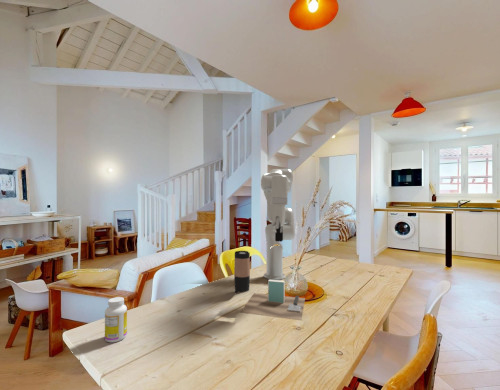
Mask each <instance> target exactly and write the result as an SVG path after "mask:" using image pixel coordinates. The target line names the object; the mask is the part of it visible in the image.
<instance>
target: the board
mask: <svg viewBox="0 0 500 390" xmlns="http://www.w3.org/2000/svg"><path fill="white" fill-rule="evenodd" d="M294 300H295V296H287V295H285V302H284V303H279V302H270V301H268V293H257V292H254V293H253V294H251V296H250V298H249V299H248V301H247V302H246V303H245V305H244V306H243V308H242V309H241V310H240V313H242V314H250V315H251V314H252V315H258V316H265V317H273V318H282V319H288V320H296V321H297V320H298V321H302V318H303V312H304V306H305V301H306V298H305V297H299V299H298V304H297V305H301V310H300V312H292V311H287V310H288V307H289V304H294Z"/></svg>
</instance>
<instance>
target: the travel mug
mask: <svg viewBox="0 0 500 390" xmlns="http://www.w3.org/2000/svg"><path fill="white" fill-rule="evenodd" d="M250 253H251V252H249V251H247V250H237V251H236V250H235V252H234V267H233V270H234V272H233V273H234V274H233V275H234V277H233V278H234V294H235V293H236V294H237V293H247V292H248V291H250V282H251V281H250V278H251V276H250V273H251V272H250V271H251V269H250V261H251V259H250V255H251V254H250Z"/></svg>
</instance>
